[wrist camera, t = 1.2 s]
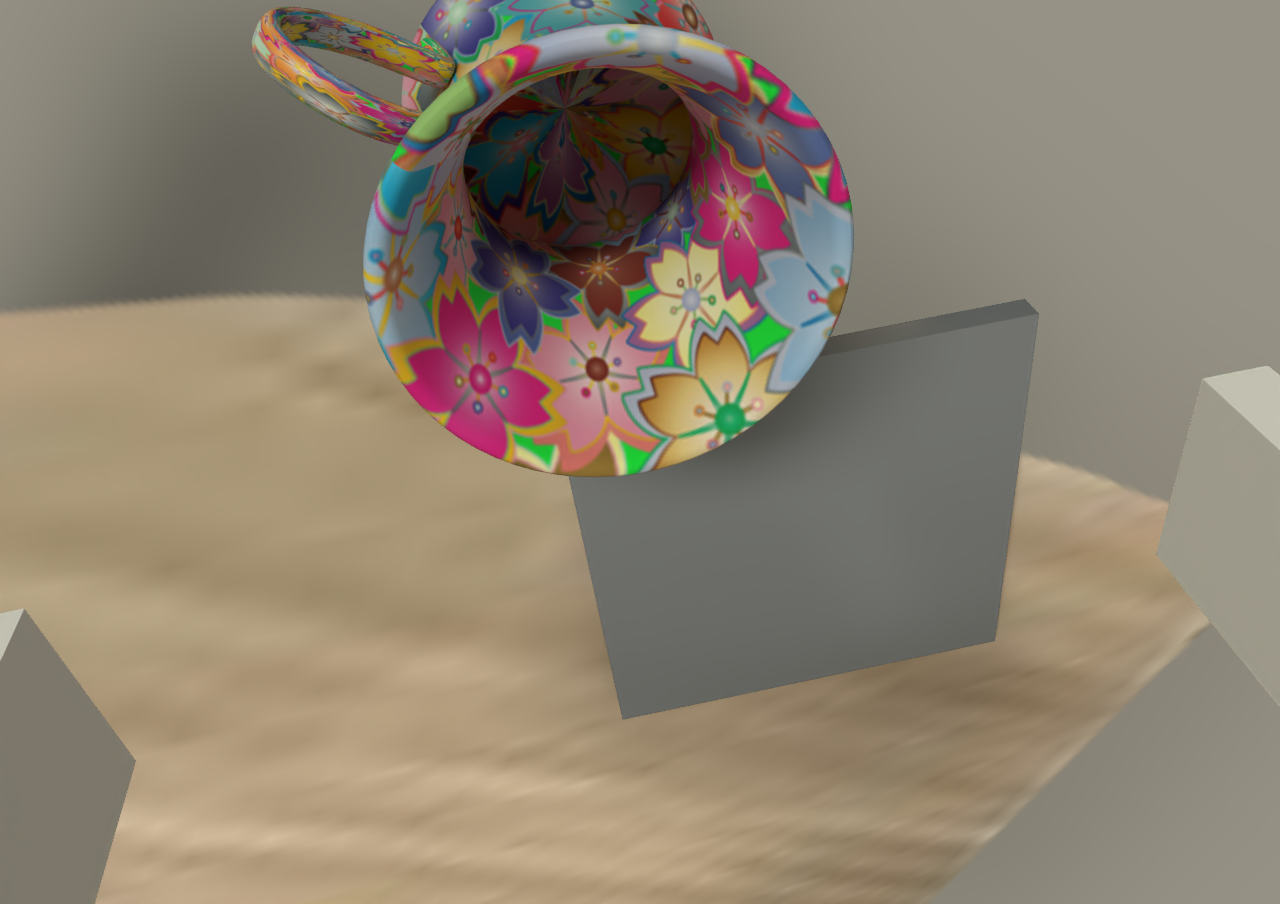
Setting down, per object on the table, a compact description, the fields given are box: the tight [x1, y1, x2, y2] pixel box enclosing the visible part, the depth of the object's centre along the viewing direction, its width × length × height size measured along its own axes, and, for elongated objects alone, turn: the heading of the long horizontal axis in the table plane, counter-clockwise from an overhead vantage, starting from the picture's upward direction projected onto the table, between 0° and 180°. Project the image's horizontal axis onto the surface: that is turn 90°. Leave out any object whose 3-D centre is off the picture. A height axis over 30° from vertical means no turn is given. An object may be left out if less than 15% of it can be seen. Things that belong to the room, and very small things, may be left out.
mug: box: [252, 0, 854, 477], centre depth 23 cm, size 12×9×11 cm
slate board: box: [569, 299, 1039, 719], centre depth 38 cm, size 16×16×1 cm
